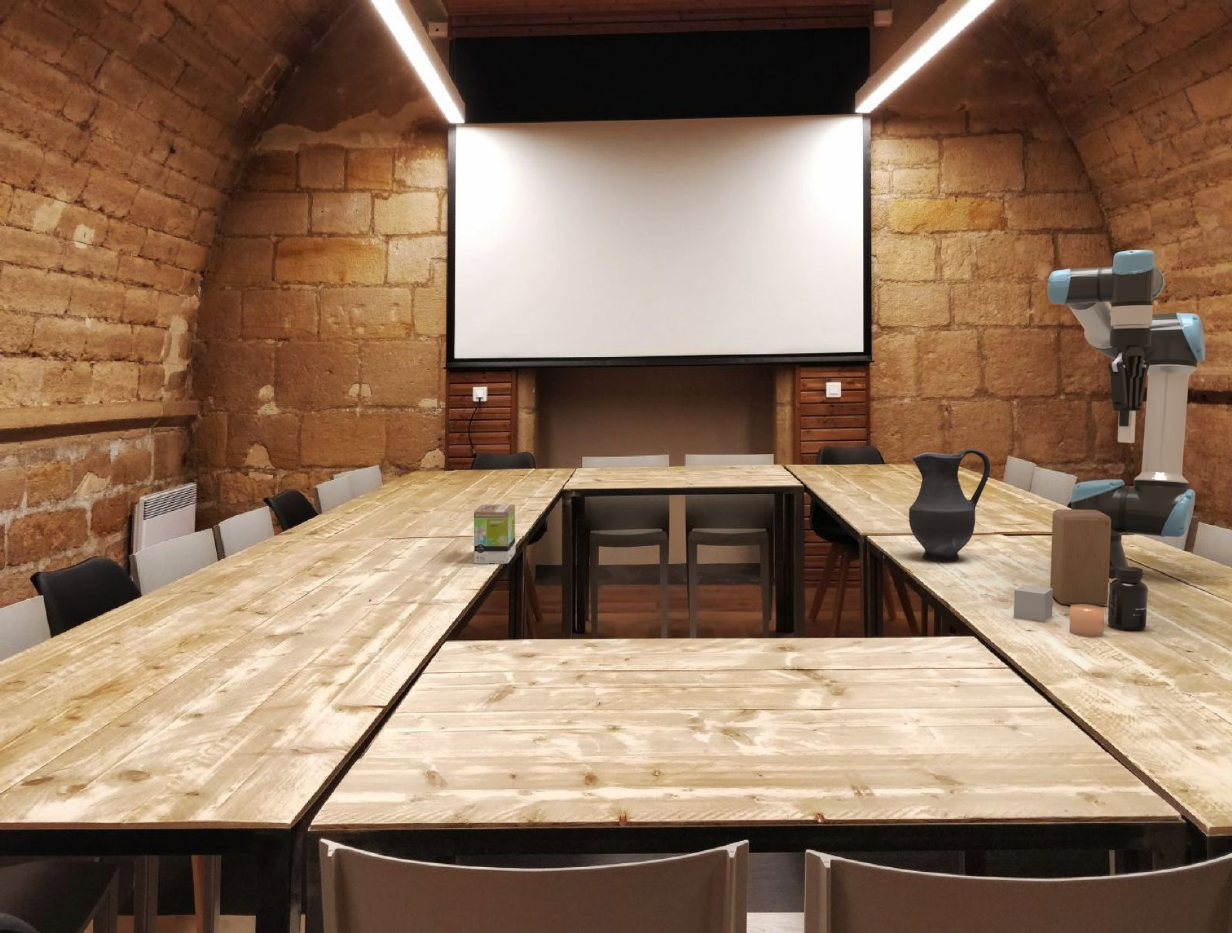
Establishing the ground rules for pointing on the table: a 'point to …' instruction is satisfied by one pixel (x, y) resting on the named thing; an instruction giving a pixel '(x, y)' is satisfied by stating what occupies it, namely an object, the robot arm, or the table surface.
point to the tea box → (494, 534)
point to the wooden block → (1080, 557)
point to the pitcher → (944, 505)
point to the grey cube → (1033, 603)
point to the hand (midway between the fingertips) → (1126, 442)
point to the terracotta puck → (1086, 620)
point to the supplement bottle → (1128, 600)
